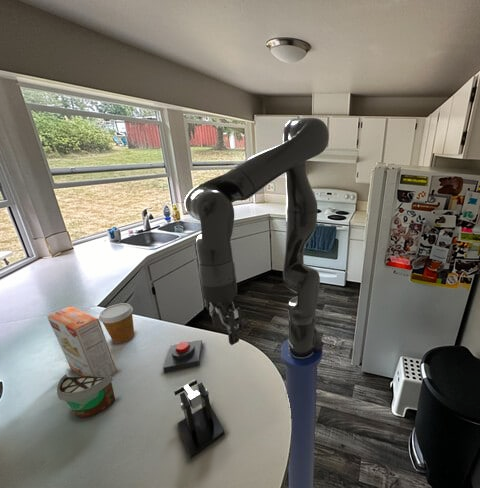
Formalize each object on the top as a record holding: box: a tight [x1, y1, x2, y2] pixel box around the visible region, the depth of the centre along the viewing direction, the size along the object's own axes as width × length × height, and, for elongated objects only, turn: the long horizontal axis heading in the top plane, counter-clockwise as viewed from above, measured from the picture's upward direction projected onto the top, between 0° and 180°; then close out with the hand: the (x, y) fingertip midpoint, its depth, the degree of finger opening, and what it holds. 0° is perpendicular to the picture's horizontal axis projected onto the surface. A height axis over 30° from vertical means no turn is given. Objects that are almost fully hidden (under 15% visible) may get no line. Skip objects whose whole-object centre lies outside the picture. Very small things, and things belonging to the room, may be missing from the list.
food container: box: [56, 373, 116, 420], centre depth 65 cm, size 12×6×10 cm, turn 92°
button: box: [176, 341, 189, 353], centre depth 83 cm, size 4×4×2 cm
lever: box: [173, 379, 203, 410], centre depth 63 cm, size 12×6×2 cm, turn 43°
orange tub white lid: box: [98, 302, 135, 344], centre depth 91 cm, size 10×10×12 cm
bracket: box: [177, 381, 226, 460], centre depth 61 cm, size 10×8×13 cm
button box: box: [163, 339, 204, 374], centre depth 84 cm, size 10×10×4 cm
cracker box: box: [47, 305, 118, 377], centre depth 75 cm, size 14×6×21 cm, turn 67°
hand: (225, 334), depth 63 cm, fingers open, 8 cm apart
